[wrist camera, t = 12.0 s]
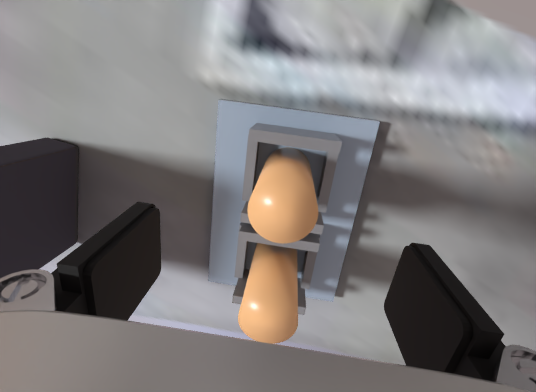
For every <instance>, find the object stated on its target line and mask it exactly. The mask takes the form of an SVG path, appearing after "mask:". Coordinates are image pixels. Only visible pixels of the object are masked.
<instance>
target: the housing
mask: <svg viewBox="0 0 536 392" xmlns="http://www.w3.org/2000/svg"><path fill="white" fill-rule="evenodd" d="M379 124H380V121H377V120H370V119H363V118H356V117H348V116H341V115H334V114H326V113H319V112H312V111H304V110H297V109H290V108H282V107H275V106H268V105H260V104H253V103H246V102H238V101H231V100H223V99H219V101H218V119H217V136H216V154H215V171H214V189H213V206H212V223H211V241H210V258H209V276H208V281H210V282H217V283H223V284H229V285H235V286H236V287H235V291H234V294H233V301H232V303H236V304H241V307H240V310H239V315H238V321H239V325H240V327H241V329H242V330H243V332H244V333H245V334H246V335H247V336H249V337H250V338H252V339H253V340H256V341H259V342H265V343H271V344H273V343H280V342H283V341H285V340H287V339H289V338H290V337H291V336H292V335H293V334H294V333H295V331H296V329H297V326H298V314H302V315H304V314H305V309H306V301H305V297H308V298H314V299H320V300H326V301H332V302H333V300H334V296H335V292H336V288H337V284H338V281H339V277H340V273H341V269H342V265H343V261H344V258H345V254H346V250H347V246H348V242H349V238H350V235H351V231H352V227H353V223H354V219H355V215H356V212H357V208H358V204H359V200H360V196H361V192H362V189H363V185H364V181H365V177H366V173H367V169H368V166H369V162H370V158H371V154H372V150H373V147H374V143H375V139H376V135H377V131H378V127H379ZM284 147H291V148H295V149H297V150H299V151H301V152H302V153H303V154H304V155H305V156H306V157H307V159H308V160H309V163H310V167H311V172H312V178H313V183H314V188H315V194H316V199H317V204H318V219H317V222H316V224H315V226H314V228H313V230H312V231H311V232H310V233H309V234H308V235H307V236H306V237H304V238H303V239H301V240H299V241H296V242H292V243H283V244H282V243H275V242H272V241H269V240H267V239H265V238H263V237H262V236H260V235H259V234H258V233H257V232H256V231H255V230H254V228H253V227H252V225H251V223H250V221H249V218H248V203H249V200H250V197H251V195H252V193H253V190H254V188H255V186H256V183H257V181H258V179H259V176H260V174H261V172H262V169H263V167H264V165H265V162H266V160H267V158H268V157H269V155H270V154H271V153H273V152H274V151H275V150H277V149H280V148H284Z"/></svg>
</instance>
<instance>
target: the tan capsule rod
mask: <svg viewBox="0 0 536 392" xmlns="http://www.w3.org/2000/svg"><path fill="white" fill-rule="evenodd" d="M248 218H249V221H250V223H251V225H252V227H253V228H254V230H255V231H256V232H257V233H258V234H259V235H260V236H262V237H263V238H265V239H267V240H269V241H272V242H275V243H282V244H283V243H292V242H296V241H299V240H301V239H303V238H304V237H306V236H307V235H308V234H309V233H310V232H311V231H312V230H313V228H314V226H315V224H316V222H317V219H318V204H317V199H316V194H315V188H314V183H313V178H312V172H311V167H310V163H309V160H308V159H307V157H306V156H305V155H304V154H303V153H302V152H301V151H299V150H297V149H295V148H291V147H284V148H280V149H277V150H275V151H274V152H273V153H271V154H270V155H269V157H268V158H267V160H266V162H265V165H264V167H263V169H262V172H261V174H260V176H259V179H258V181H257V183H256V186H255V188H254V190H253V193H252V195H251V197H250V200H249V203H248Z"/></svg>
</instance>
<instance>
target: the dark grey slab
mask: <svg viewBox="0 0 536 392" xmlns="http://www.w3.org/2000/svg"><path fill="white" fill-rule="evenodd" d="M78 159H79V149H78V147H77V146H75V145H71V144H68V143H65V142H61V141H58V140H54V139H50V138H42V139H37V140H32V141H26V142H21V143H16V144H10V145H5V146H0V278H2V277H5V276H7V275H9V274H12V273H16V272H19V271H25V270H31V269H33V270H38V269H40V268H41V267H43V266H44V265H45V264H47V263H48V262H50V261H51V260H53V259H54V258H55V257H57V256H58V255H60V254H61V253H63V252H64V251H66V250H67V249H68V248H70V247H71V246H73V245H74V244H75V243H76V242H77V218H78Z"/></svg>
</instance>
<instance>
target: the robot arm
mask: <svg viewBox="0 0 536 392" xmlns="http://www.w3.org/2000/svg"><path fill="white" fill-rule="evenodd" d="M57 267H58V268H57V269H56V270H55V271H53V272H52V273H49V272H48V271H45V270H33V269H31V270H25V271H19V272H16V273H12V274H9V275H7V276H5V277H2V278H0V392H536V351H534V350H532V349H529V348H526V347H523V346H520V345H509V346H505V345H504V344H503V343H502V341H501V339H502V337H503V335H504V333H503V332H502V331H501V330H500V328H499V327H498V326H497V325H496V324H495V322H494V321H493V320H492V319H491V318H490V317H489V315H488V314H487V313H486V312H485V311H484V309H483V308H482V307H481V306H480V305H479V303H478V302H477V301H476V300H475V299H474V297H473V296H472V295H471V294H470V293H469V291H468V290H467V289H466V288H465V287H464V286H463V284H462V283H461V282H460V281H459V280H458V278H457V277H456V276H455V275H454V274H453V272H452V271H451V270H450V269H449V268H448V266H447V265H446V264H445V263H444V262H443V261H442V259H441V258H440V257H439V256H438V255H437V253H436V252H435V251H434V250H433V249H432V247H431V246H429V245H425V244H418V243H411V244H410V245H409V246H405V248H404V250H403V252H402V255H401V258H400V261H399V263H398V266H397V269H396V272H395V275H394V277H393V280H392V283H391V286H390V288H389V291H388V294H387V297H386V299H385V303H384V310H385V313H386V316H387V318H388V321H389V323H390V326H391V328H392V331H393V333H394V336H395V338H396V341H397V343H398V346H399V348H400V351H401V353H402V356H403V358H404V361H405V363H406V366H404V365H399V364H393V363H387V362H381V361H375V360H369V359H363V358H357V357H351V356H344V355H338V354H332V353H326V352H320V351H314V350H307V349H301V348H295V347H289V346H283V345H277V344H271V343H265V342H259V341H252V340H246V339H240V338H234V337H228V336H221V335H215V334H209V333H203V332H197V331H191V330H185V329H178V328H171V327H165V326H159V325H153V324H146V323H140V322H133V321H127V320H128V319H129V317H130V316H131V315H132V313H133V312H134V310H135V309H136V308H137V306H138V305H139V303H140V302H141V300H142V299H143V298H144V296H145V295H146V293H147V292H148V290H149V289H150V288H151V286H152V285H153V283H154V282H155V280H156V279H157V278H158V276H159V274H160V271H161V243H160V212H159V209H157V208H155V205H154V204H149V203H142V202H137V203H136V204H134V205H133V206H132V207H130V208H129V209H128V210H126V211H125V212H124V213H123V214H121V215H120V216H119V217H117V218H116V219H115V220H113V221H112V222H111V223H109V224H108V225H107V226H105V227H104V228H103V229H102V230H100V231H99V232H98V233H96V234H95V235H94V236H92V237H91V238H90V239H88V240H87V241H86V242H85V243H83V244H82V245H81V246H79V247H78V248H77V249H75V250H74V251H73V252H71V253H70V254H69V255H67V256H66V257H65V258H64V259H62V260H61V261H60V262H58V263H57Z"/></svg>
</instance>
